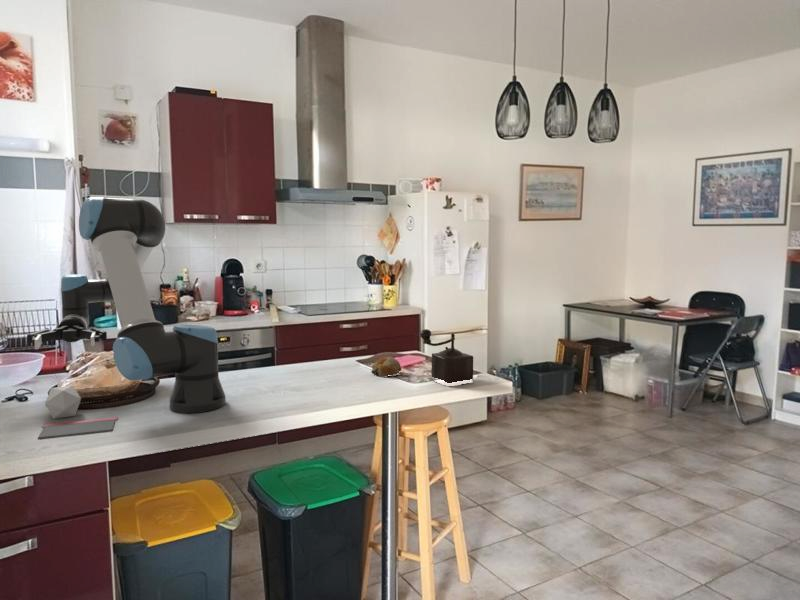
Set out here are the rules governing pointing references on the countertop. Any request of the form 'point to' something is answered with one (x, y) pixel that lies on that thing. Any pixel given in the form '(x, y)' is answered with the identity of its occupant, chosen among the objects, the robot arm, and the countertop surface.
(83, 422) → the line
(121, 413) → the countertop surface
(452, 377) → the manual coffee grinder
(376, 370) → the mottled brown round lump
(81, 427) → the mat
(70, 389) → the die
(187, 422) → the countertop surface
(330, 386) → the countertop surface
